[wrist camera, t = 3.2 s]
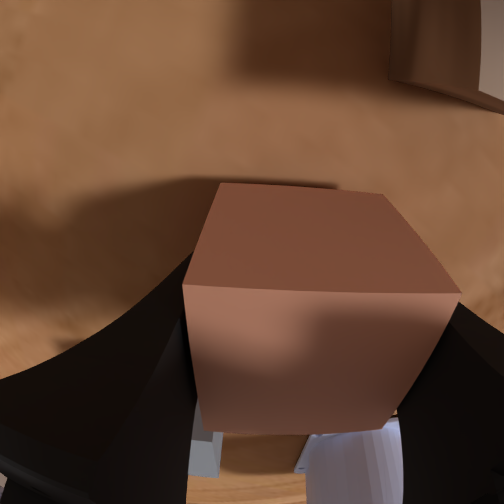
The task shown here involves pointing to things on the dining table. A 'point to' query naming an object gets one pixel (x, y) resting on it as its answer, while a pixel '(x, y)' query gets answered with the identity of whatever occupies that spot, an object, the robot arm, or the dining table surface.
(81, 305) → the dining table surface
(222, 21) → the dining table surface
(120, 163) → the dining table surface
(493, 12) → the walnut block
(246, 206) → the terracotta block
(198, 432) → the slate grey block
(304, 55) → the dining table surface
